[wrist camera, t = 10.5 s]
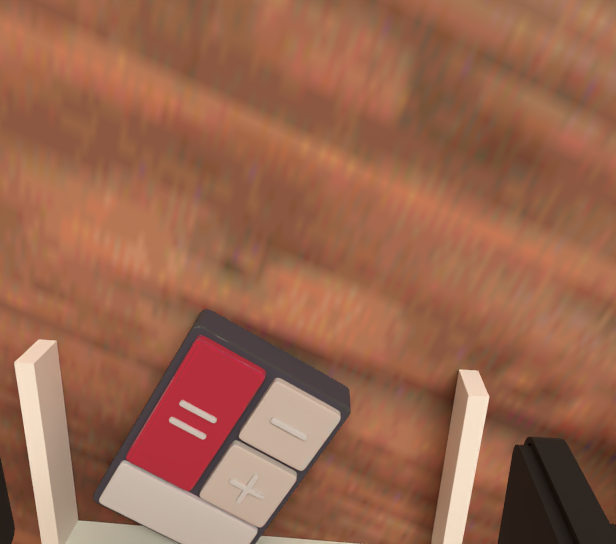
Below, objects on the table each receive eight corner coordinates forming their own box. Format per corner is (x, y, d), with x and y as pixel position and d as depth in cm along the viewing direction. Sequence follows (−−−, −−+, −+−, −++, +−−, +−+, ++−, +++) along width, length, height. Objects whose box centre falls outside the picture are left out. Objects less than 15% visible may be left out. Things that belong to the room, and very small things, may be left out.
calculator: (354, 417, 35) (233, 582, 39) (351, 381, 39) (242, 534, 43) (192, 327, 33) (84, 509, 37) (207, 300, 37) (108, 466, 41)
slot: (478, 370, 37) (489, 396, 34) (444, 563, 42) (451, 599, 40) (38, 339, 38) (14, 362, 35) (64, 531, 43) (45, 564, 41)
